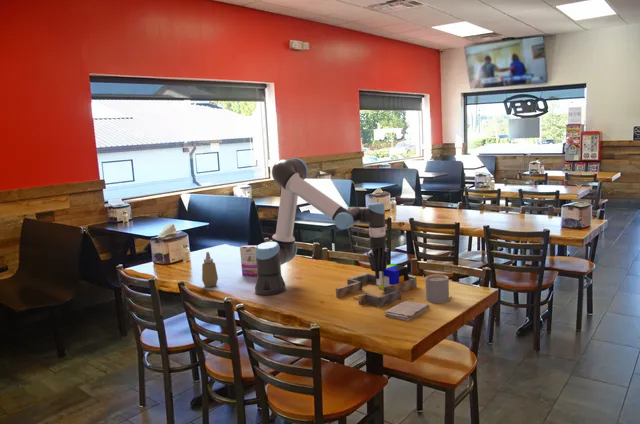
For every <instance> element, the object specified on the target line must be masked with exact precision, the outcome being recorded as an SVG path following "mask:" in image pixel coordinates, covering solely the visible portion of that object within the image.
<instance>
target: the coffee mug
mask: <svg viewBox="0 0 640 424" xmlns="http://www.w3.org/2000/svg"><path fill="white" fill-rule="evenodd" d="M424 280H425V301H426V302H429V303H432V304H443V303H446V302H449V301H450V291H449V289H450V287H449V276H447V275H445V274H439V273H438V274H437V273H436V274H429V275H426V276H425V279H424Z"/></svg>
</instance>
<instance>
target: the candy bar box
mask: <svg viewBox="0 0 640 424" xmlns="http://www.w3.org/2000/svg"><path fill="white" fill-rule="evenodd" d="M257 246H258V245H255V244H254V245H249V244H248V245H247V244H246V245H245V244H244V245H241V246H240V247H239V252H240V263H241V265H240V266H241V274H242V275H243V277H257V263H256V255H255V253H256V247H257ZM242 275H241V276H242Z"/></svg>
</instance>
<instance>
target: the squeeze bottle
mask: <svg viewBox="0 0 640 424" xmlns="http://www.w3.org/2000/svg"><path fill="white" fill-rule="evenodd" d="M205 254H206V255H205V258H203V263H202V266H201V267H202V269H201V272H202V273H201V274H202V275H201V276H202V277H201V281H202V283H203V286H204V287H205V286H206V287H205V288H212V287H211V286H214V287H216V286H217V284H218V280H219V277H218V276H219V275H218V272H217V268H216V263H215V262H214V258H212V257H211V256H210V255H211V254H210V252H209V251H206V253H205ZM215 285H216V286H215Z"/></svg>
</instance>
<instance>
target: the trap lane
mask: <svg viewBox="0 0 640 424" xmlns="http://www.w3.org/2000/svg"><path fill="white" fill-rule="evenodd" d="M346 281H347V284H346V285H344V286H339V287H336V288H335V296H336V297H335V298H341V297H344V296H347V295H351V294H355V293H358V292H361V291H363V284H367V283H371V284H373V285H377V283H376V278H375V274H372V273H364V274H362V275H358V276H354V277H351V278H348V279H347V280H346ZM417 284H418V283H417V276H416V275H411V274H408V280H407V281H404V282H400V283H397V284H394V285H391V286H388V287H384V289H383V291H384V293H383V294H382V295H379V296H377V295H374V294H371V293H368V292H366V293H362V294H359V295H357V298H358V302H357V303H358V305H359V306H363V305H365V304H368V305H370V306H375V307H378V308H381V307H383V306H387V305H390V304H392V303H395V302H397V301H401V300H402V293H403V292H406V291H408V290H411V289H415V288H417V286H418V285H417ZM380 306H381V307H380Z"/></svg>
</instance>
